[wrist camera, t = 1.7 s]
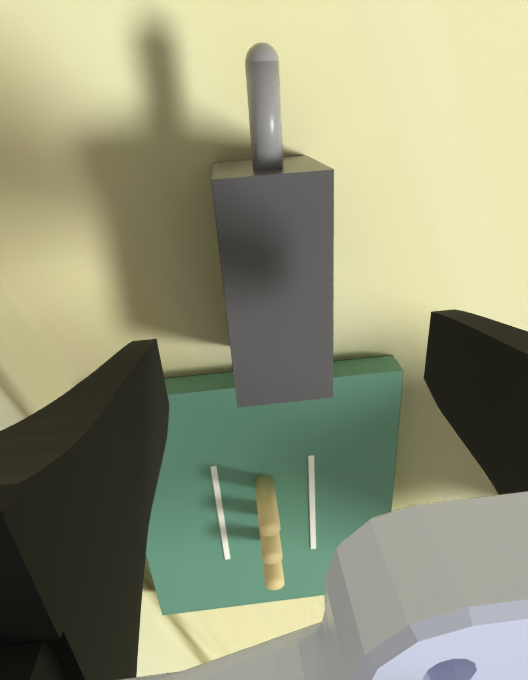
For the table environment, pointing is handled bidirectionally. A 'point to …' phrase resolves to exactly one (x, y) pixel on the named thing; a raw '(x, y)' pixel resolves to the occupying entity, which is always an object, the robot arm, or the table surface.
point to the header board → (268, 486)
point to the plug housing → (276, 255)
